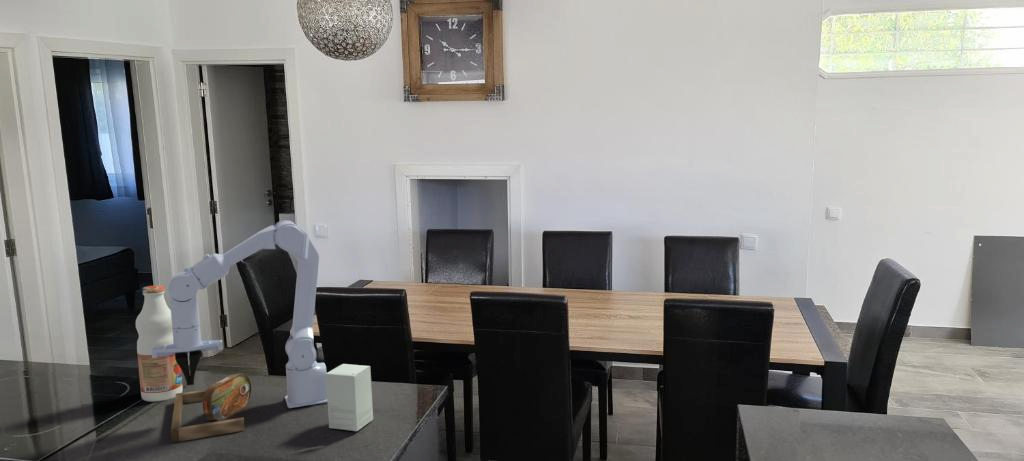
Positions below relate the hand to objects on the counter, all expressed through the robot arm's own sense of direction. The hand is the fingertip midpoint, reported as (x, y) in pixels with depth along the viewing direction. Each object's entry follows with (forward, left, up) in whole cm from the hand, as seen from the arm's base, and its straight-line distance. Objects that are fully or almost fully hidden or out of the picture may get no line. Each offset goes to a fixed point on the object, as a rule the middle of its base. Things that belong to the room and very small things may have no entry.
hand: (190, 383), depth 160 cm
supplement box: (-33, +19, -9) cm, 39 cm away
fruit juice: (+7, -20, -9) cm, 23 cm away
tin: (-8, 0, -9) cm, 11 cm away
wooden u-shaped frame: (-4, 0, -8) cm, 9 cm away
